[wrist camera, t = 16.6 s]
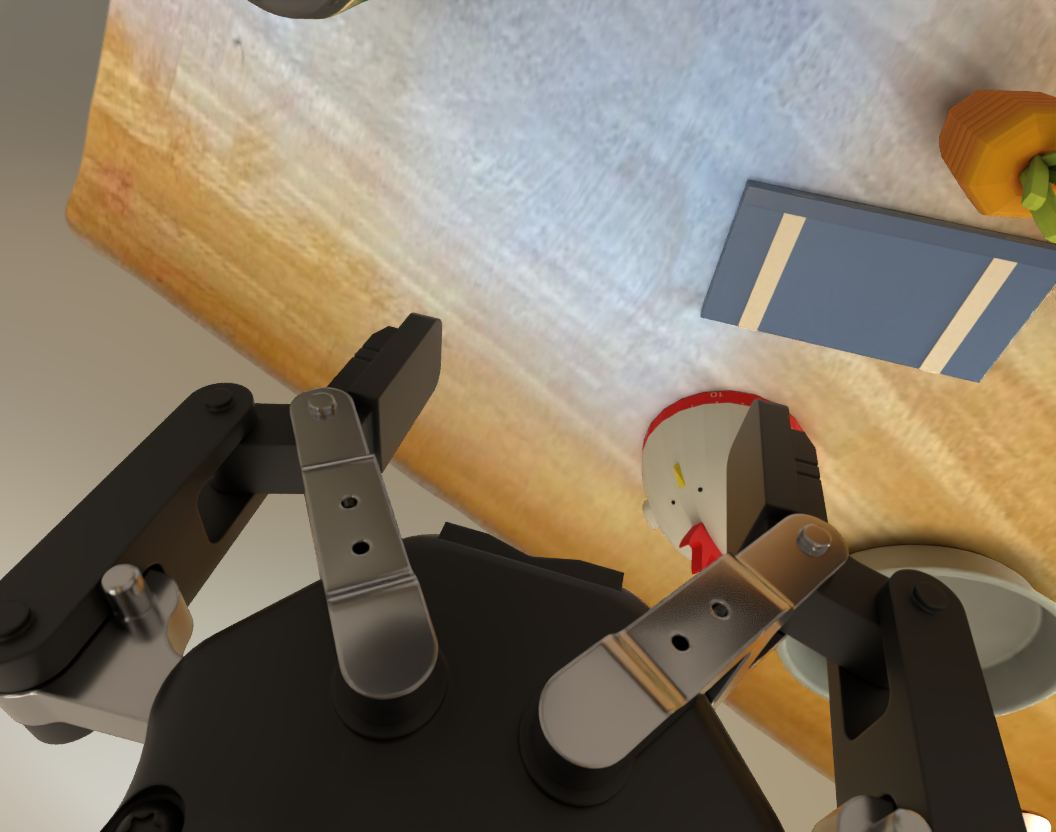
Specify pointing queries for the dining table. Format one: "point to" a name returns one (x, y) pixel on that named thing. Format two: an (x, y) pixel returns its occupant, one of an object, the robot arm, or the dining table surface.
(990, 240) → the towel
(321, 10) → the coffee jar
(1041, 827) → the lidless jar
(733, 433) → the kitchen timer
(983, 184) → the carrot
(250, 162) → the dining table surface
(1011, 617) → the cake pan
